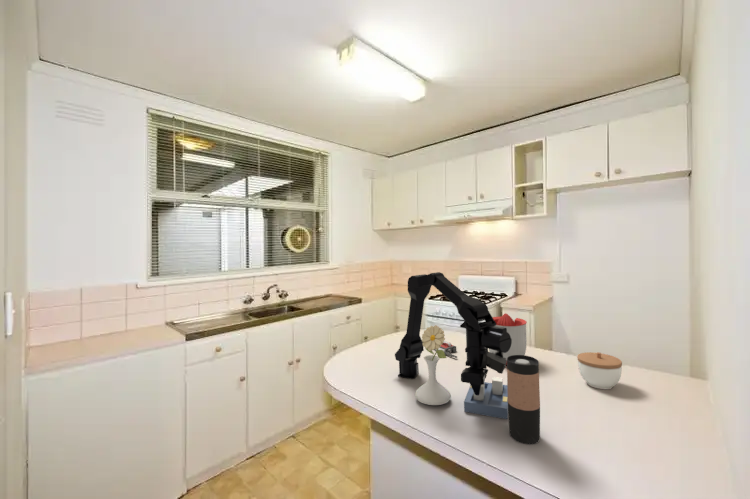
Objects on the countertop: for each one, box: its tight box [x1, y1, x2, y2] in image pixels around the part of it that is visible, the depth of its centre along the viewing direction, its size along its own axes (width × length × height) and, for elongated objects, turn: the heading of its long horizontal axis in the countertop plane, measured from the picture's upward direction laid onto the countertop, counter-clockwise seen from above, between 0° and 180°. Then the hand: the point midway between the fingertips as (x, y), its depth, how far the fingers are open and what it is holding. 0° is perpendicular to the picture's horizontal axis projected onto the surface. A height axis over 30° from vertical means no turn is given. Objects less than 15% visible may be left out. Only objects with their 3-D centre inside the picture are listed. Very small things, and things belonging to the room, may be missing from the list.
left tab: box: [473, 384, 485, 401], centre depth 104 cm, size 3×3×4 cm
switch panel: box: [463, 381, 509, 420], centre depth 104 cm, size 12×16×3 cm
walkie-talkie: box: [433, 340, 458, 359], centre depth 152 cm, size 9×4×20 cm
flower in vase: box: [414, 325, 452, 406], centre depth 106 cm, size 13×11×25 cm
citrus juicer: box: [488, 312, 528, 366], centre depth 139 cm, size 16×17×20 cm
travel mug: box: [506, 354, 541, 445], centre depth 86 cm, size 8×8×20 cm
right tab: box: [491, 376, 504, 395], centre depth 107 cm, size 3×3×4 cm
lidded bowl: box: [576, 352, 623, 390], centre depth 113 cm, size 13×13×11 cm
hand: (477, 394), depth 101 cm, fingers closed
